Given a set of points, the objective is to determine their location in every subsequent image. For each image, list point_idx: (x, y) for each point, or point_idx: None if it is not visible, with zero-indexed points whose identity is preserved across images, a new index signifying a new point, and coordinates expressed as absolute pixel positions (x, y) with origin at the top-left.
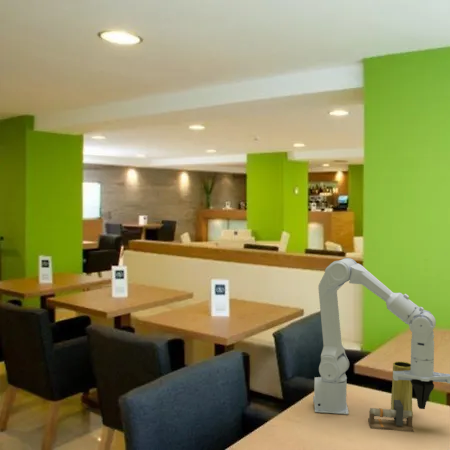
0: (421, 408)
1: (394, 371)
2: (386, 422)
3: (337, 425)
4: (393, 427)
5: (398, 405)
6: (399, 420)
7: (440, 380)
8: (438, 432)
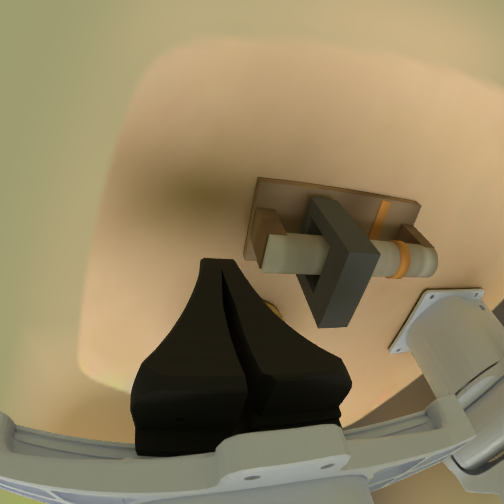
0: (222, 260)
1: (439, 460)
2: None
3: (483, 220)
4: (345, 196)
5: (368, 263)
6: (334, 211)
7: (62, 448)
8: (137, 178)
